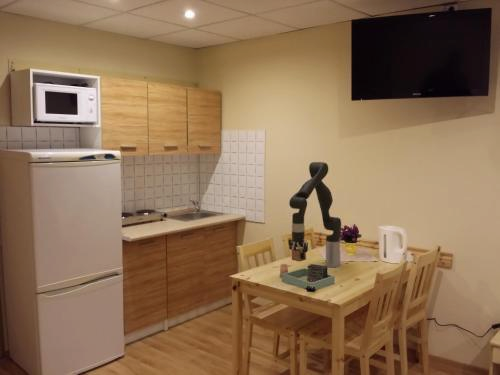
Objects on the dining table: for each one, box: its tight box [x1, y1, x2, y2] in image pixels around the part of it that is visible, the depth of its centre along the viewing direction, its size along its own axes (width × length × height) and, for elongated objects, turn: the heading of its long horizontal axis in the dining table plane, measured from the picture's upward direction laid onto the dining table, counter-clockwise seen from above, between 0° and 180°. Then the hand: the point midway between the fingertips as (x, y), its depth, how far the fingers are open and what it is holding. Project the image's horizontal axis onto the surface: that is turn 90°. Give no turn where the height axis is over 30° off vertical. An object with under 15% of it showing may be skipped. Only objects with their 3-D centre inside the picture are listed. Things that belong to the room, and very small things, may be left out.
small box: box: [307, 263, 328, 281], centre depth 275 cm, size 11×6×10 cm, turn 59°
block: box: [291, 247, 307, 263], centre depth 277 cm, size 6×6×6 cm
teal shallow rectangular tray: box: [281, 267, 336, 291], centre depth 277 cm, size 20×24×4 cm
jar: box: [279, 263, 289, 278], centre depth 289 cm, size 5×5×8 cm
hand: (298, 257), depth 277 cm, fingers closed on block, 6 cm apart
